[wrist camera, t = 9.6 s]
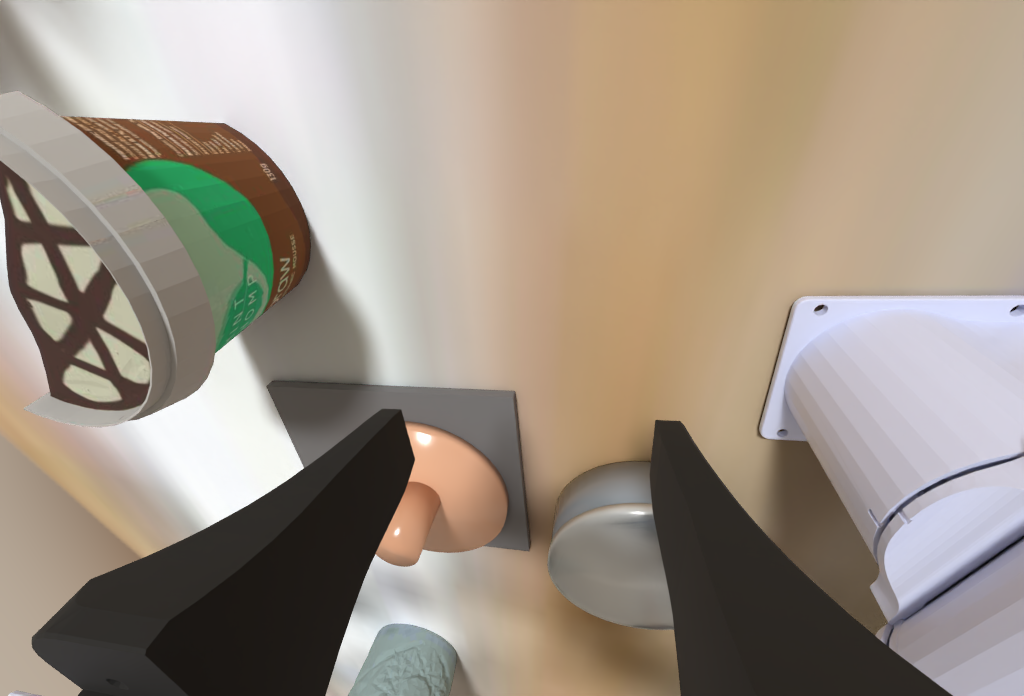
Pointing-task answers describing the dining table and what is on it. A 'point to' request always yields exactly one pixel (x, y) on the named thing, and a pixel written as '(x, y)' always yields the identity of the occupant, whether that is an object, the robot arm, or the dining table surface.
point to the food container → (139, 252)
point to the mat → (463, 412)
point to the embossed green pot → (406, 664)
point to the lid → (445, 499)
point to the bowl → (611, 547)
